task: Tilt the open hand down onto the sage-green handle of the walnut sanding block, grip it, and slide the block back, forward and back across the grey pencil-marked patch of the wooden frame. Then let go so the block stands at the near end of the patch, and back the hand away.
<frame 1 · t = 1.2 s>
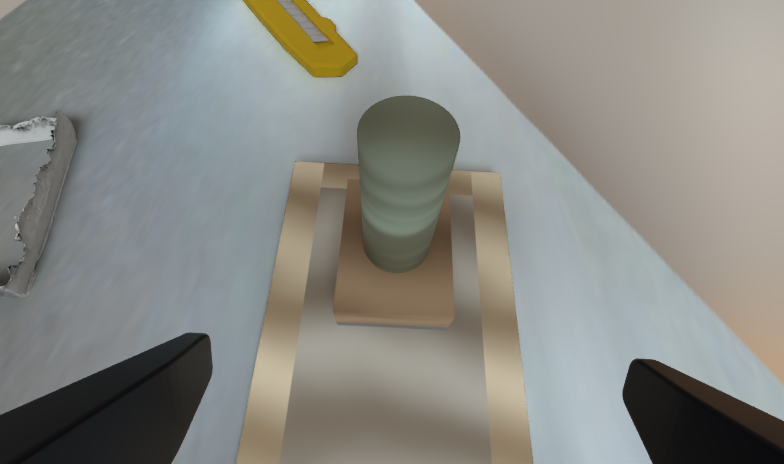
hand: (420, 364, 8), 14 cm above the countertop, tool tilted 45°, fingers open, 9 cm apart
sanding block: (394, 260, 23), point 1 cm above the countertop, touching wooden frame
wooden frame: (391, 332, 22), on the countertop
utility knife: (289, 8, 37), on the countertop
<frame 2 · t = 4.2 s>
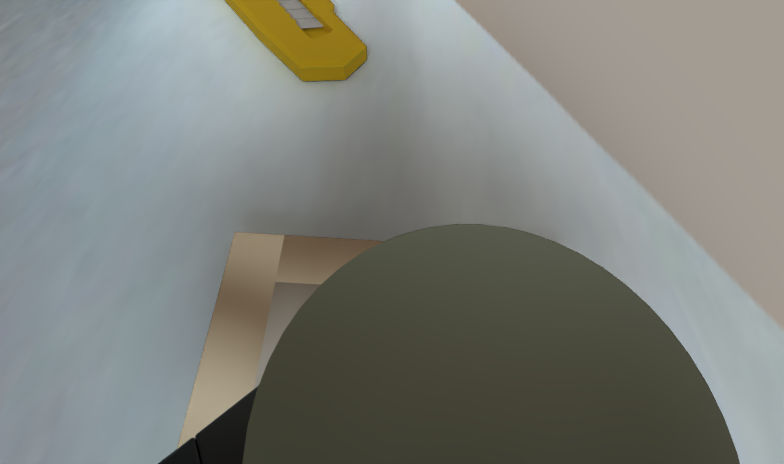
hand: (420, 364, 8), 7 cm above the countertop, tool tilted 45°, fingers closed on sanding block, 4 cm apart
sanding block: (401, 437, 13), point 1 cm above the countertop, touching gripper, wooden frame
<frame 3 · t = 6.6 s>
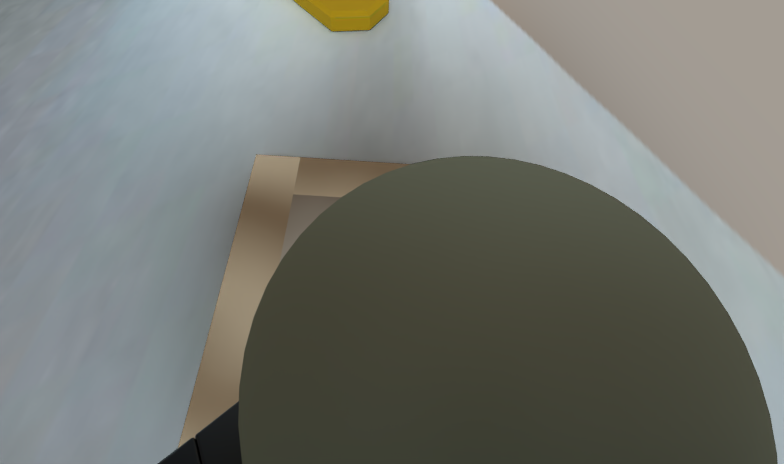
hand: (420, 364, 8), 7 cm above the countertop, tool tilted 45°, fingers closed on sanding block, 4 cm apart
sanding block: (403, 415, 13), point 1 cm above the countertop, touching gripper
wooden frame: (399, 437, 14), on the countertop
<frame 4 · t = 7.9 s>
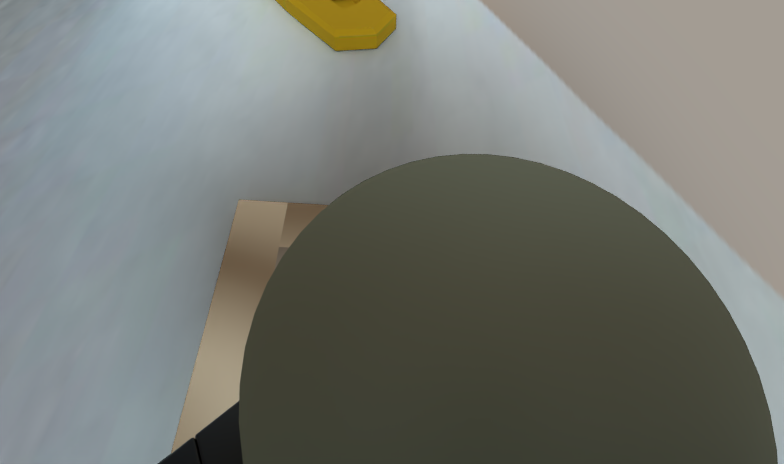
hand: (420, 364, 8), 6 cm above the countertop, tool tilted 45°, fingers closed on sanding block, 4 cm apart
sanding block: (403, 414, 13), point 1 cm above the countertop, touching gripper
when the fingers open (6 cm above the countertop, at t = 9.2 s): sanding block stays where it is, resting on wooden frame.
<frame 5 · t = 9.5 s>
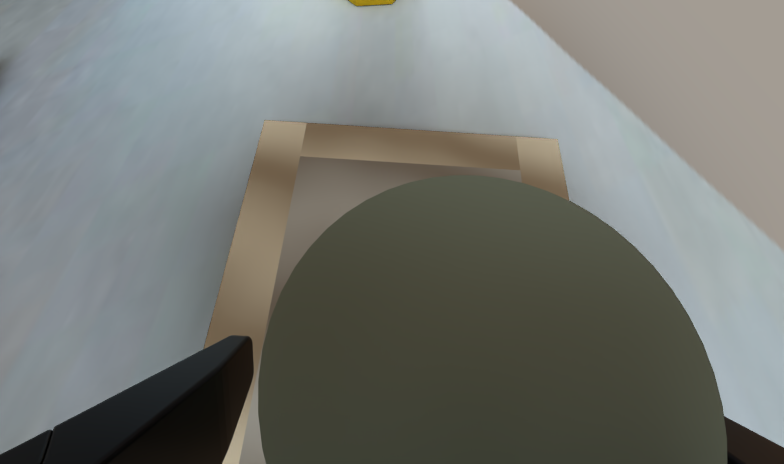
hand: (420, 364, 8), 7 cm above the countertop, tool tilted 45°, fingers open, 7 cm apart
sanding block: (402, 418, 13), point 1 cm above the countertop, touching wooden frame
wooden frame: (401, 376, 14), on the countertop
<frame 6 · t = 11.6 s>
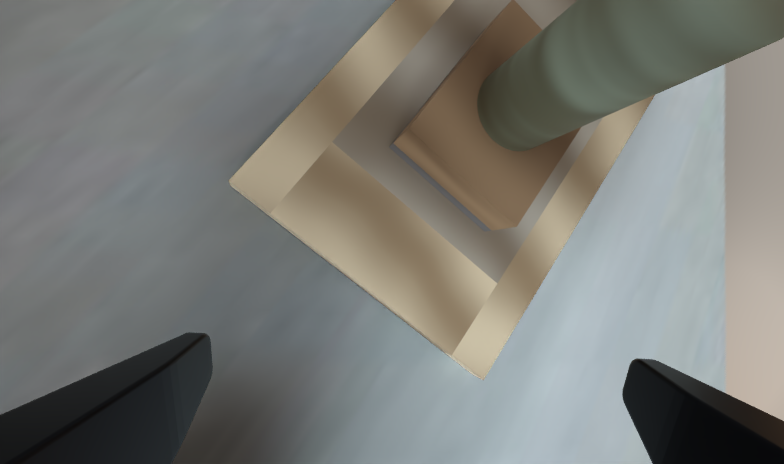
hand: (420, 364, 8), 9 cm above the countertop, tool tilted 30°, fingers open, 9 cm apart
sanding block: (483, 129, 19), point 1 cm above the countertop, touching wooden frame
wooden frame: (488, 115, 20), on the countertop
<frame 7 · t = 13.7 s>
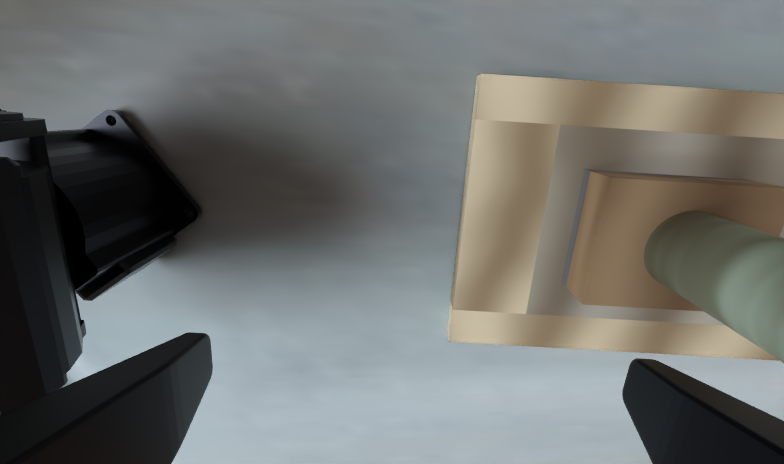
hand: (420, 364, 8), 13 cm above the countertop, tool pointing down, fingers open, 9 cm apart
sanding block: (649, 233, 20), point 1 cm above the countertop, touching wooden frame
wooden frame: (664, 229, 21), on the countertop
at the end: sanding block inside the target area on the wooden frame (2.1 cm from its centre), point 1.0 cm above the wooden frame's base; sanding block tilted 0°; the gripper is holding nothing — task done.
